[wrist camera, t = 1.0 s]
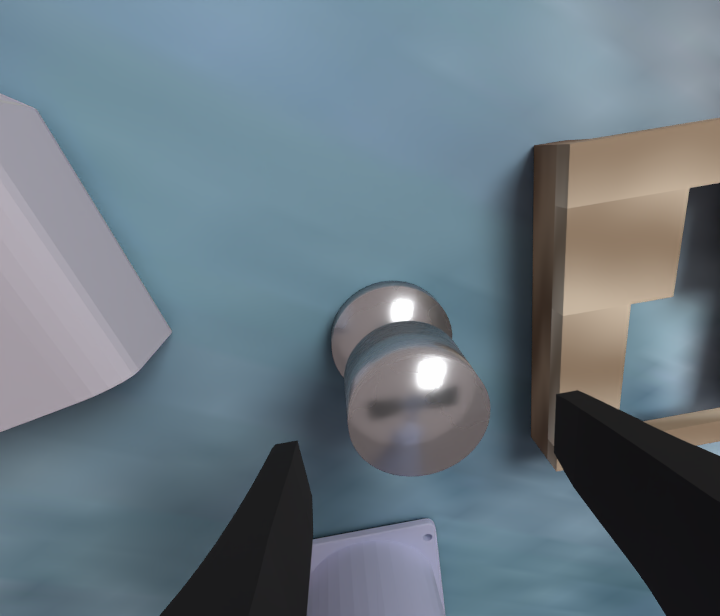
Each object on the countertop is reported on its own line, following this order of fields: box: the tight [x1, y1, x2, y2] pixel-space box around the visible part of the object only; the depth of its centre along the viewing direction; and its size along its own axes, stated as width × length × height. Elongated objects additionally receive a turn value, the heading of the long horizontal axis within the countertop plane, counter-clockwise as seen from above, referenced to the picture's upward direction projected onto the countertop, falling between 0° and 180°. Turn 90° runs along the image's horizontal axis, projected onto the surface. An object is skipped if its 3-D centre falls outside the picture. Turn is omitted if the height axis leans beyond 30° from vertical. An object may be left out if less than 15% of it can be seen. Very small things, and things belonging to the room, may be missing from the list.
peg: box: [331, 281, 490, 476], centre depth 15 cm, size 5×5×6 cm
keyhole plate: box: [531, 118, 720, 471], centre depth 17 cm, size 14×12×2 cm
